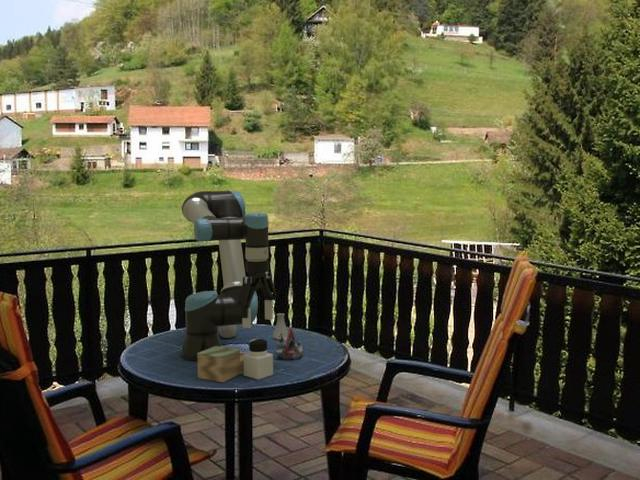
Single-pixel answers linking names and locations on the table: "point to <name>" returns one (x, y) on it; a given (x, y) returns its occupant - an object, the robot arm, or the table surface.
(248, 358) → the medicine bottle
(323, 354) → the table surface
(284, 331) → the flask
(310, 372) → the table surface
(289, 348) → the red grey figurine
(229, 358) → the stepped stand
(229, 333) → the perfume bottle
